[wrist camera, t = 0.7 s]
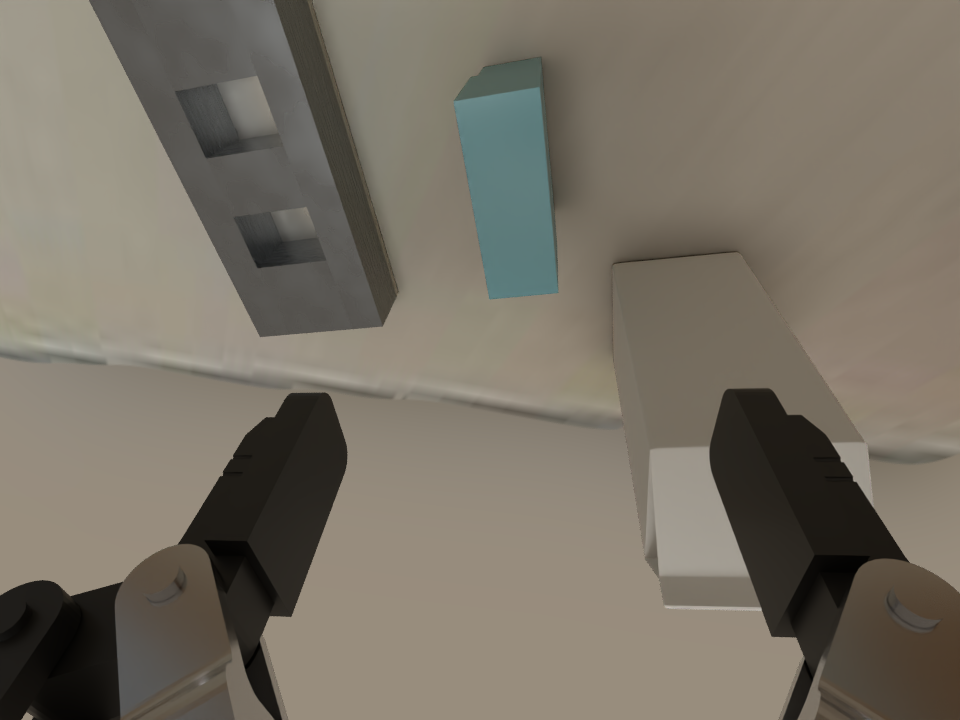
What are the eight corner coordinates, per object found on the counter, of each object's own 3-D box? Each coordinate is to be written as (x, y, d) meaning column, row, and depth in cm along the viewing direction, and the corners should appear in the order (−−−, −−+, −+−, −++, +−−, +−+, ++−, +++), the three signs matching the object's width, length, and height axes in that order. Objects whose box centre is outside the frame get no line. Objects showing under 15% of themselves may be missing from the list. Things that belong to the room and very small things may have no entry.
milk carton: (611, 262, 31) (670, 546, 16) (739, 250, 29) (937, 547, 14) (612, 357, 35) (659, 654, 20) (725, 350, 34) (866, 662, 19)
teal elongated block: (481, 63, 25) (453, 101, 18) (542, 51, 25) (539, 87, 17) (504, 219, 30) (489, 299, 23) (556, 213, 29) (558, 292, 22)
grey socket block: (139, -23, 24) (78, -21, 21) (293, -60, 23) (252, -64, 20) (286, 303, 35) (260, 336, 32) (398, 292, 33) (382, 326, 30)
